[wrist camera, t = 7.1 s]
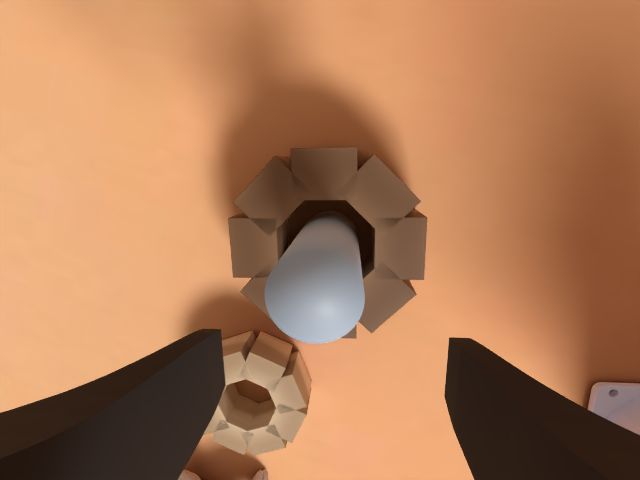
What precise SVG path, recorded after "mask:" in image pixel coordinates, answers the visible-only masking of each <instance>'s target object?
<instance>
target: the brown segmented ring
mask: <svg viewBox="0 0 640 480" xmlns="http://www.w3.org/2000/svg"><path fill="white" fill-rule="evenodd" d="M306 200H346V201H347V202H348V203H349V204H350V205H351V206H352V207H353V208H354V209H355V210H356V211H357V212H358V213H359V214H360V215H361V216H362V217H363V218H365V219H366V220H367V221H368V222H369V223H370V224H371V254H370V255H369V256H368V257H366V258H365V259H364V260H363V261H362V262H361V268H362V277H363V285H364V294H365V303H364V309H363V312H362V315H361V317H360V319H359V322H360V323H361V324H362V325H363V326H364V327H365V328H366V329H367V330H369V331H370V332H371V333H372V332H374V331H375V330H376V329H377V328H378V327H379V326H380V325H382V324H383V323H384V322H385V321H386V320H387V319H389V318H390V317H391V316H392V315H393V314H394V313H396V312H397V311H398V310H399V309H400V308H401V307H403V306H404V305H405V304H406V303H407V302H408V301H409V300H411V299H412V298H413V297H414V296H415V295H416V293H415V291H414V289H413V287H412V285H411V283H410V281H409V280H424V268H425V250H426V231H427V217H426V216H424V215H423V214H421V213H420V212H419V211H417V210H416V209H413V208H414V207H415V206H416V205H417V204H419V203H420V202H421V201H420V200H419V199H418V198H417V197H416V196H415V194H414V193H413V192H412V191H411V190H410V189H409V188H408V187H407V186H406V185H405V184H404V183H403V182H402V181H401V180H400V179H399V178H398V177H397V176H396V175H395V174H394V173H393V172H392V171H391V170H390V169H389V168H388V167H387V166H386V165H385V164H384V163H383V162H382V161H381V160H380V159H379V158H378V157H377V156H376V155H375V154H373V155H371V156H370V157H369V158H368V159H367V160H366V161H365V162H364V163H363V164H362V165H361V166H360V167H359V168H358V169H357V147H336V148H294V149H291V161H290V160H289V159H288V158H287V157H279V156H274V158H273V159H272V160H271V161H270V162H269V163H268V164H267V165H266V167H265V168H264V169H263V170H262V171H261V172H260V173H259V174H258V176H257V177H256V178H255V179H254V180H253V181H252V182H251V183H250V185H249V186H248V187H247V188H246V189H245V190H244V191H243V192H242V194H241V195H240V196H239V197H238V198H237V199H236V200H235V202H234V204H235V205H236V206H237V207H238V208H239V209H240V210H241V211H242V213H239V214H237V215H235V216H233V217H231V218H228V222H229V234H230V246H231V258H232V270H233V277H236V278H252V279H251V280H250V281H249V282H248V283H247V284H246V286H245V287H244V288H243V289H242V290H241V291H240V292H241V293H242V294H243V295H244V296H246V297H247V298H248V299H249V300H250V301H251V302H252V303H253V304H254V305H255V306H257V307H258V308H259V309H260V310H261V311H262V312H263V313H264V314H265V315H266V316H267V317H269V318H270V319H271V317H270V315H269V313H268V311H267V308H266V303H265V286H266V282H267V279H268V276H269V275H270V273H271V271H272V270H273V268H274V267H275V265H276V264H277V263H278V261H279V260H280V258H281V257H282V256H283V254H284V253H285V252H286V250H287V249H288V223H287V219H288V218H289V217H290V216H291V215H292V214H293V213H294V212H295V211H296V210H297V209H298V208H299V207H300V206H301V205H302V204H303V203H304V202H305V201H306ZM271 320H272V319H271ZM272 321H273V320H272ZM341 338H356V325H355V327H354V328H353V329H352V330H351V331H350V332H348V333H347V334H346V335H344V336H343V337H341Z"/></svg>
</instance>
